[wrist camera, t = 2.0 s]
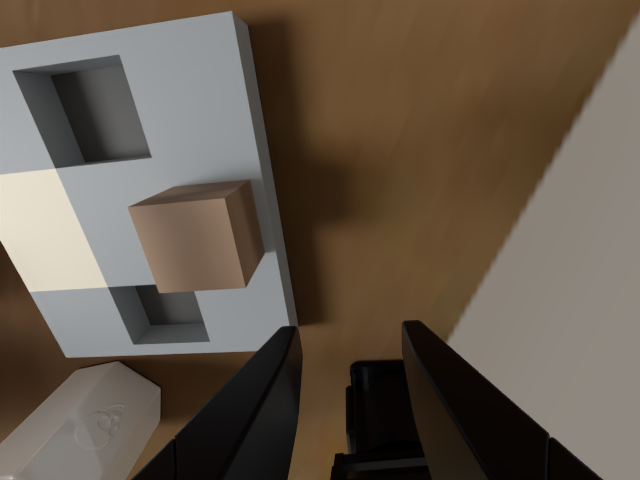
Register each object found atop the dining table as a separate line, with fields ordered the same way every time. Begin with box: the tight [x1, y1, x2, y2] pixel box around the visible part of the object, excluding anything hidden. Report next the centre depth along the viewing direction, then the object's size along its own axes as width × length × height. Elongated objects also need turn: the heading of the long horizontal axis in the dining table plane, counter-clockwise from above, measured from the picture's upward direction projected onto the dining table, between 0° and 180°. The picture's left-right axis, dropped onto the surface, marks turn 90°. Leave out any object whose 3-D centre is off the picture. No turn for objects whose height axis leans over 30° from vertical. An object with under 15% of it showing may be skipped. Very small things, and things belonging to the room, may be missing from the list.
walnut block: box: [128, 179, 265, 293], centre depth 16 cm, size 5×5×4 cm
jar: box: [0, 361, 161, 480], centre depth 23 cm, size 9×8×12 cm
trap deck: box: [0, 11, 299, 358], centre depth 20 cm, size 18×20×2 cm
